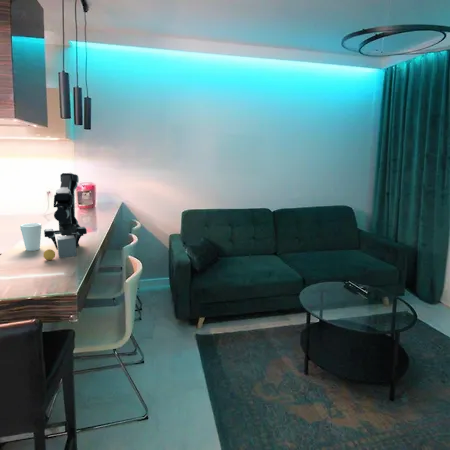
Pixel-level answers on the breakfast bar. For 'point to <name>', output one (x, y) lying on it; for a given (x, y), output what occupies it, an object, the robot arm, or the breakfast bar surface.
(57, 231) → the robot arm
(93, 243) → the breakfast bar surface
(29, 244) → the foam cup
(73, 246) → the matte grey cube
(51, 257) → the ball
